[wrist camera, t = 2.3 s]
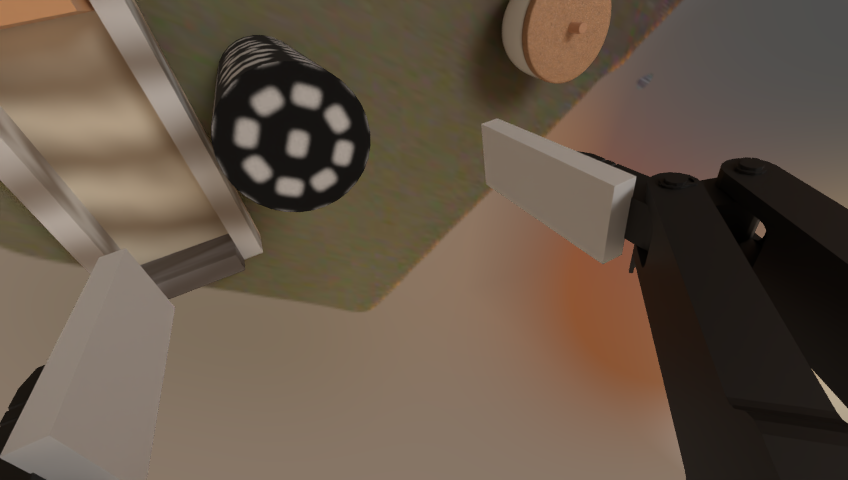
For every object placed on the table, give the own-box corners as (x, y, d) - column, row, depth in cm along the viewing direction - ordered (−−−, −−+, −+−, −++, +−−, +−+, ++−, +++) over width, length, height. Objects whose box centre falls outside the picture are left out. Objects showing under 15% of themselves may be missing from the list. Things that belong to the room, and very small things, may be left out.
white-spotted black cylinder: (222, 20, 32) (219, 35, 17) (318, 52, 36) (386, 88, 21) (213, 116, 35) (204, 202, 20) (302, 135, 40) (352, 219, 24)
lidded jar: (505, -49, 39) (569, -61, 32) (574, -12, 44) (642, -15, 37) (473, 60, 43) (522, 72, 36) (539, 82, 49) (593, 96, 41)
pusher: (-71, 14, 25) (-128, 16, 21) (84, -14, 27) (59, -17, 23) (-50, 39, 26) (-101, 46, 22) (98, 9, 28) (77, 10, 24)
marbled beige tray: (-126, -5, 24) (-208, -7, 20) (111, -44, 28) (88, -54, 23) (128, 283, 40) (116, 319, 35) (260, 234, 43) (264, 262, 38)
